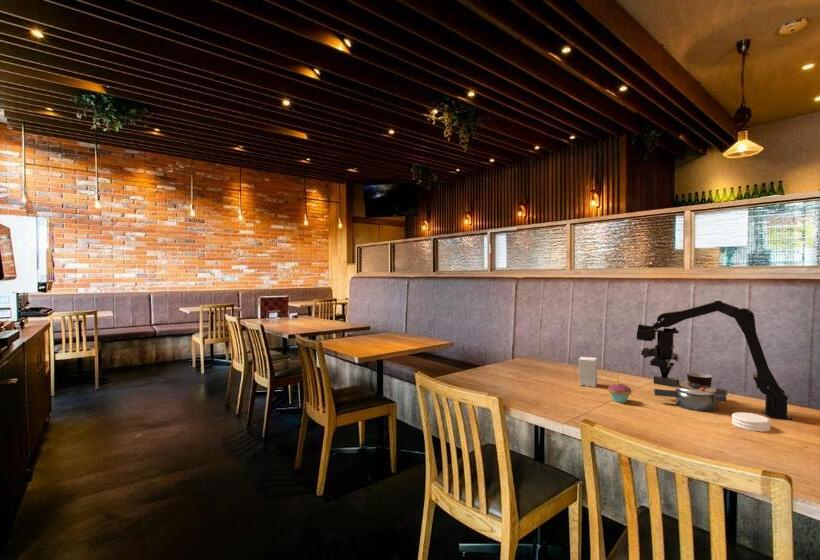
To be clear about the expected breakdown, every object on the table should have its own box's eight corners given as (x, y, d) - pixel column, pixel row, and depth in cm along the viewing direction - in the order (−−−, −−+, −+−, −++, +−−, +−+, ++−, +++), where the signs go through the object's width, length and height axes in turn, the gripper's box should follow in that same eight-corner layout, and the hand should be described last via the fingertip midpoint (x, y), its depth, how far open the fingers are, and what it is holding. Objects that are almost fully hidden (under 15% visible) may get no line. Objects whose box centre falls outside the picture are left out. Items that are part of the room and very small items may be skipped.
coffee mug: (712, 403, 162) (712, 378, 162) (686, 399, 167) (686, 375, 167) (712, 396, 171) (712, 372, 171) (687, 393, 176) (687, 370, 176)
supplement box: (597, 384, 192) (597, 357, 192) (595, 387, 186) (595, 360, 186) (581, 382, 196) (581, 356, 196) (578, 385, 190) (578, 358, 189)
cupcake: (625, 405, 160) (625, 375, 160) (604, 400, 166) (604, 371, 166) (634, 401, 165) (634, 372, 165) (613, 396, 172) (613, 368, 172)
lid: (731, 392, 155) (731, 384, 155) (721, 399, 146) (721, 391, 146) (660, 380, 174) (660, 373, 174) (648, 385, 165) (648, 378, 165)
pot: (719, 404, 161) (719, 389, 161) (731, 414, 149) (731, 398, 149) (651, 397, 169) (651, 383, 169) (657, 407, 157) (657, 392, 157)
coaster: (756, 434, 131) (756, 423, 131) (724, 423, 140) (724, 413, 140) (777, 430, 134) (777, 420, 134) (745, 420, 143) (745, 410, 143)
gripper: (650, 337, 180) (649, 372, 181) (636, 343, 167) (635, 380, 168) (679, 340, 172) (678, 376, 173) (667, 347, 159) (666, 386, 160)
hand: (664, 379), depth 169 cm, fingers closed
